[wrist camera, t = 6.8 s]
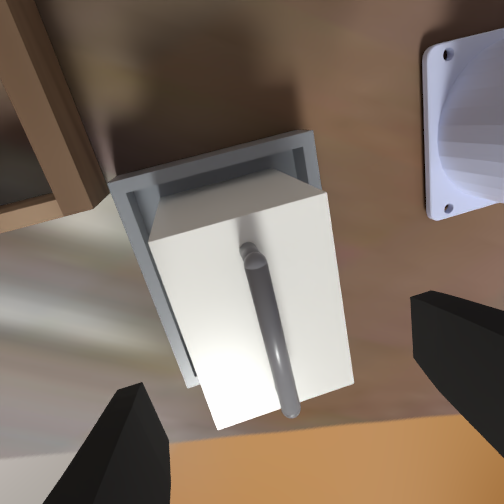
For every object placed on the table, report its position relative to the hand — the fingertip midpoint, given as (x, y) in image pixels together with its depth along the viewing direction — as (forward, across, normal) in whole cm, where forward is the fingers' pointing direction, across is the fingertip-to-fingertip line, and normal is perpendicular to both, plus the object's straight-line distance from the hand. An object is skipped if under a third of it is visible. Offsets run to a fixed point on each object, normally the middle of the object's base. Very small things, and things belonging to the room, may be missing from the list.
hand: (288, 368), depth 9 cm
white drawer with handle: (+8, 0, 0) cm, 8 cm away
